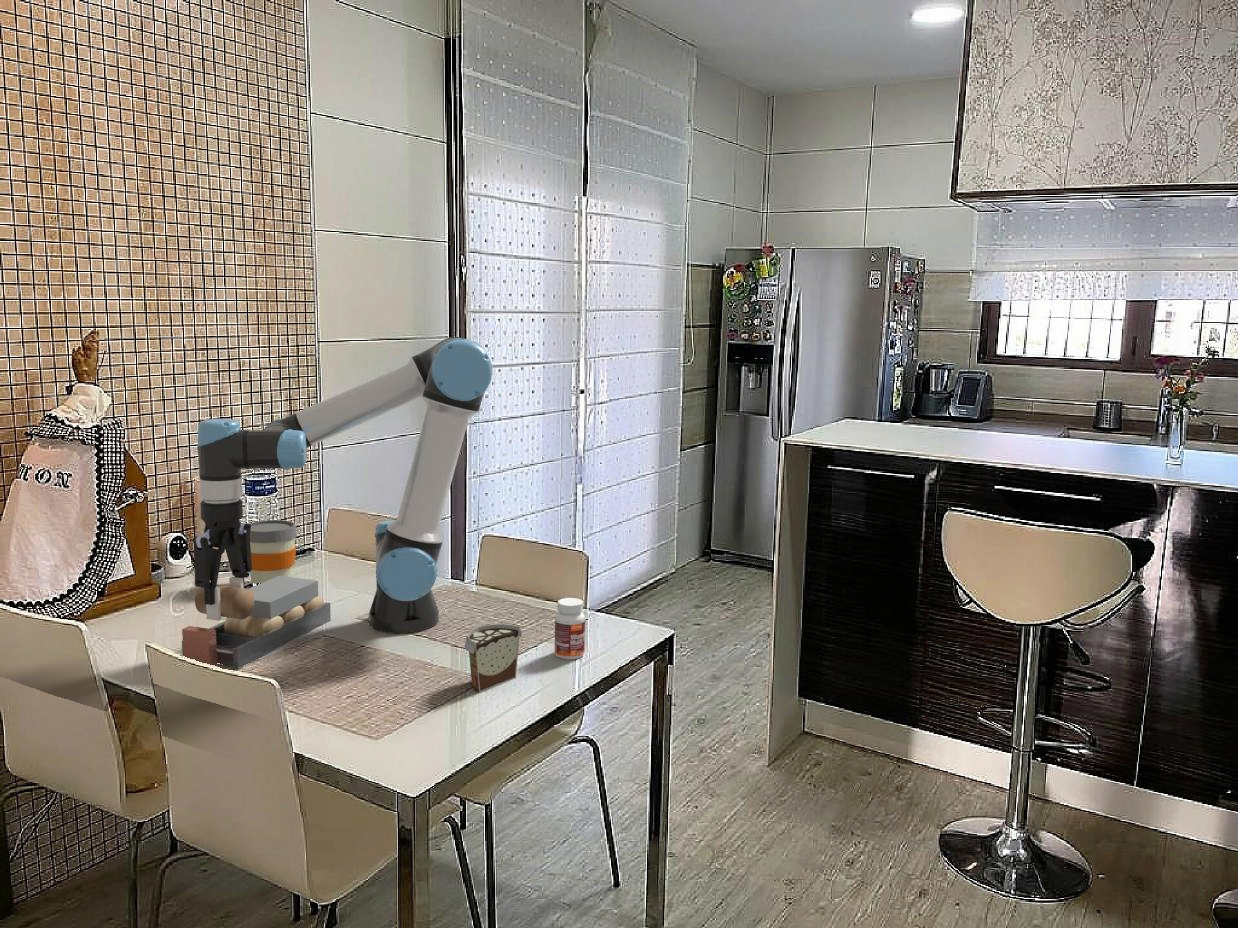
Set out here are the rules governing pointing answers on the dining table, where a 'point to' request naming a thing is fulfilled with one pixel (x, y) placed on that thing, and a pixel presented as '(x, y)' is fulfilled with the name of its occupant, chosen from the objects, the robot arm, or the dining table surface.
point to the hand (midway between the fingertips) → (225, 613)
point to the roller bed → (247, 639)
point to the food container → (493, 655)
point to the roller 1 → (229, 602)
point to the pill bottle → (570, 629)
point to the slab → (281, 595)
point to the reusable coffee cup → (272, 549)
